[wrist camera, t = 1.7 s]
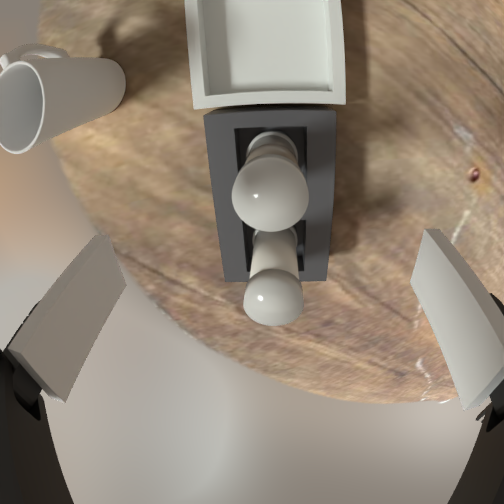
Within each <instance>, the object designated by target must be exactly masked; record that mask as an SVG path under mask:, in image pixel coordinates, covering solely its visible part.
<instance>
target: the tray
mask: <svg viewBox="0 0 504 504" xmlns="http://www.w3.org/2000/svg"><path fill="white" fill-rule="evenodd" d="M185 16H186V30H187V43H188V55H189V66H190V76H191V86H192V96H193V105H194V109H202V108H211V107H221V106H233V105H248V104H269V103H322V104H343V105H346V82H345V53H344V35H343V22H342V10H341V0H185Z"/></svg>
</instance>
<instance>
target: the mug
mask: <svg viewBox="0 0 504 504" xmlns="http://www.w3.org/2000/svg"><path fill="white" fill-rule="evenodd" d="M30 54H34V55H40V56H43V57H45V58H43V59H32V60H24V61H20V58H21V57H23V56H25V55H30ZM0 64H1V66H2V68H3V69H4V70H3V71H2V73H1V74H0V145H1V146H2V147H3V148H4V149H5V150H7V151H8V152H10V153H14V154H20V153H23V152H26V151H27V150H29V149H31V148H33V147H35V146H37V145H39V144H41V143H43V142H45V141H47V140H49V139H51V138H53V137H55V136H58V135H60V134H62V133H64V132H66V131H68V130H71V129H73V128H75V127H78V126H80V125H82V124H85V123H87V122H90V121H93V120H95V119H97V118H100V117H102V116H105V115H107V114H109V113H111V112H112V111H113V110H114V109H115V108H116V107H117V106H118V105H119V104H120V102H121V100H122V98H123V96H124V93H125V88H126V80H125V75H124V72H123V70H122V68H121V67H120V66H119V64H117V63H116V62H115V61H113V60H111V59H106V58H88V57H75V58H70V57H69V55H68V53H67V51H66V50H64V49H60V48H56V47H52V46H47V45H42V44H26V45H22V46H19V47H17V48H15V49H14V50H12V51H11V52H9V53H6V54H3V56H2V57H1V59H0Z"/></svg>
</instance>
